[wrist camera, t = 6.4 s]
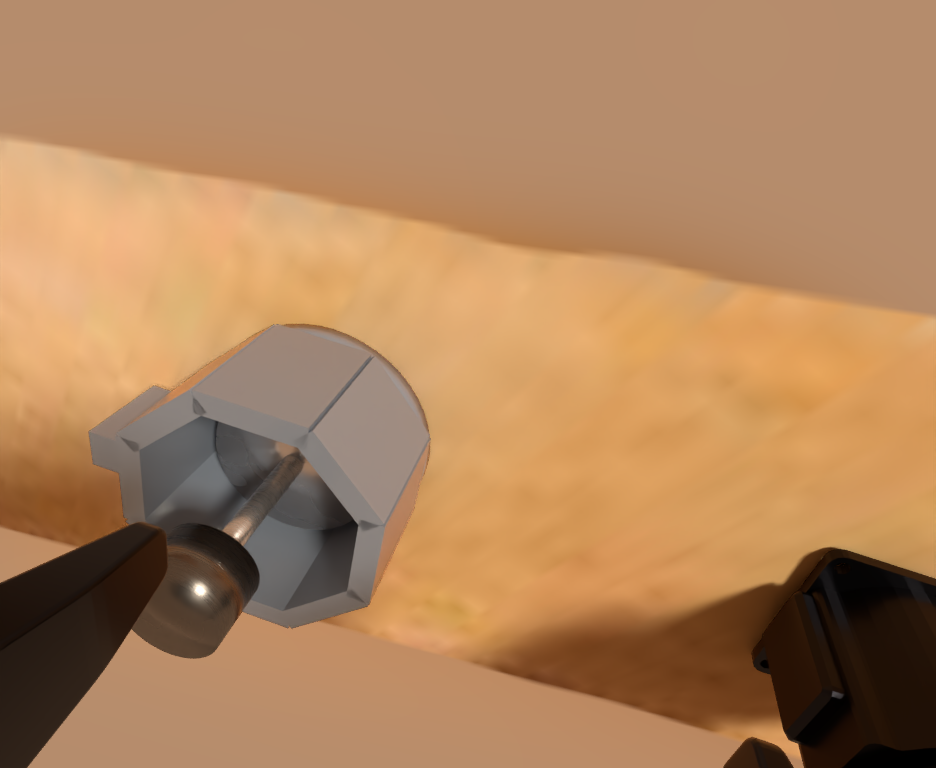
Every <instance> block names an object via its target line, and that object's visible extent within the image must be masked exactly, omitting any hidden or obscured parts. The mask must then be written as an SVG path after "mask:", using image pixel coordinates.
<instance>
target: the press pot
mask: <svg viewBox="0 0 936 768" xmlns="http://www.w3.org/2000/svg"><path fill="white" fill-rule="evenodd" d="M219 422H222V423H225V424H228V425H231V426H234V427H237V428H240V429H243V430H246V431H249V432H252V433H255V434H258V435H261V436H264V437H267V438H270V439H273V440H276V441H279V442H282V443H285V444H288V445H291V446H294V447H297V448H298V449H299V450H300V451H301V453H302V454H303V455H304V457H305V458H306V459H307V460H308V462H309V463H310V464H311V465H312V467H313V468H314V469H315V470H316V472H317V473H318V474H319V476H320V477H321V478H322V479H323V481H324V482H325V483H326V484H327V486H328V487H329V488H330V490H331V491H332V492H333V493H334V495H335V496H336V497H337V498H338V500H339V501H340V502H341V504H342V505H343V506H344V507H345V509H346V510H347V511H348V512H349V514H350V515H351V516H352V517H353V520H351V521H350V522H348V523H346V524H344V525H342V526H339V527H336V528H331V529H325V530H312V529H303V528H298V527H294V526H291V525H287V524H285V523H282V522H280V521H277V520H275V519H273V518H271V517H270V516H268V515H267V516H266V518H265V519H264V520H263V522H262V523H261V524H260V525H259V527H258V528H257V529H256V531H255V532H254V533H253V534H252V536H251V537H250V538H249V540H248V541H247V542H246V543H245V545H244V546H243V547H244V548H245V549H246V550H247V551H248V552H249V553H250V555H251V556H252V558H253V559H254V561H255V563H256V565H257V567H258V570H259V574H260V583H259V587H258V589H257V591H256V592H255V594H254V595H253V597H252V598H251V600H250V601H249V603H248V604H247V606H246V607H245V608H244V610H243V611H242V612H245V613H247V614H250V615H253V616H256V617H258V618H261V619H264V620H267V621H270V622H272V623H275V624H278V625H281V626H283V627H286V628H289V626H290V627H291V628H296V627H299V626H302V625H306V624H309V623H313V622H316V621H319V620H323V619H326V618H330V617H333V616H337V615H340V614H343V613H347V612H350V611H354V610H357V609H361V608H364V607H367V606H368V604H370V602H371V600H372V598H373V596H374V594H375V592H376V589H377V587H378V585H379V583H380V581H381V579H382V577H383V574H384V572H385V570H386V568H387V566H388V564H389V562H390V560H391V557H392V555H393V553H394V551H395V549H396V547H397V545H398V542H399V540H400V538H401V536H402V534H403V532H404V530H405V527H406V525H407V523H408V521H409V519H410V517H411V515H412V513H413V510H414V508H415V504H416V499H417V495H418V491H419V486H420V482H421V480H422V478H423V476H424V474H425V471H426V468H427V465H428V461H429V454H430V439H431V438H430V434H429V429H428V424H427V420H426V417H425V414H424V411H423V409H422V407H421V404H420V402H419V400H418V398H417V396H416V395H415V393H414V391H413V390H412V388H411V386H410V385H409V384H408V382H407V381H406V380H405V378H404V377H403V376H402V375H401V373H400V372H399V371H398V370H397V369H396V368H395V367H394V366H393V365H392V364H391V363H390V362H389V361H388V360H387V359H385V358H384V357H383V356H382V355H380V354H379V353H378V352H377V351H375V350H374V349H372V348H371V347H369V346H368V345H366V344H365V343H363V342H361V341H359V340H357V339H355V338H353V337H351V336H349V335H347V334H344V333H342V332H339V331H336V330H334V329H330V328H326V327H322V326H317V325H309V324H286V325H279V324H276V325H274V324H273V325H272V326H270V327H268V328H267V329H265V330H262V331H260V332H258V333H256V334H254V335H252V336H251V337H250V338H248V339H247V340H245V341H244V342H243V343H241V344H240V345H239V346H237V347H235V348H234V349H232V350H230V351H229V352H227V353H226V354H224V355H222V356H221V357H219V358H217V359H216V360H214V361H212V362H211V363H209V364H208V365H206V366H205V367H204V368H202V369H201V370H200V371H198V372H197V373H196V374H194V375H193V376H192V377H190V378H189V379H188V380H186V381H185V382H184V383H182V384H181V385H180V386H178V387H177V388H176V389H174V390H173V391H169V390H166V389H163V388H160V387H157V386H153V387H151V388H150V389H148V390H147V391H145V392H144V393H143V394H141V395H140V396H138V397H137V398H135V399H134V400H133V401H131V402H130V403H128V404H127V405H126V406H124V407H123V408H121V409H120V410H118V411H117V412H116V413H114V414H113V415H111V416H110V417H109V418H107V419H106V420H104V421H103V422H101V423H100V424H99V425H97V426H96V427H94V428H93V429H92V430H90V431H89V438H90V445H91V453H92V460H93V464H94V465H97V466H100V467H103V468H106V469H109V470H112V471H114V472H117V473H119V478H120V487H121V497H122V506H123V516H124V518H126V519H127V520H126V522H127V523H128V524H129V525H130V524H133V523H136V522H146V523H149V524H152V525H155V526H157V527H160V528H162V529H164V530H165V532H166V535H167V534H168V533H169V532H170V531H171V530H172V529H173V528H174V527H176V526H178V525H181V524H186V523H199V524H204V525H208V526H211V527H214V528H217V529H219V530H221V531H222V530H223V529H224V527H225V526H226V525H227V524H228V523H229V521H230V520H231V519H232V518H233V517H234V516H235V514H236V513H237V512H238V511H239V510H240V508H241V507H242V506H243V505H244V504H245V503H246V501H247V500H246V499H245V498H244V497H243V496H242V495H241V494H240V493H239V492H238V491H237V490H236V488H235V487H234V486H233V484H232V483H231V482H230V480H229V478H228V477H227V475H226V474H225V472H224V470H223V467H222V465H221V463H220V460H219V457H218V453H217V448H216V430H217V426H218V423H219Z"/></svg>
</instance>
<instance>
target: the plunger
mask: <svg viewBox="0 0 936 768" xmlns="http://www.w3.org/2000/svg"><path fill="white" fill-rule="evenodd" d="M216 448H217V453H218V457H219V460H220V463H221V465H222V467H223V470H224V472H225V474H226V475H227V477H228V478H229V480H230V482H231V483H232V484H233V486H234V487H235V488H236V490H237V491H238V492H239V493H240V494H241V495H242V496H243V497H244V498H245V499H246V500H247V501H246V503H245V504H244V505H243V506H242V507H241V508H240V510H239V511H238V512H237V513H236V514H235V516H234V517H233V518H232V519H231V520H230V521H229V523H228V524H227V525H226V526H225V527H224V529H223V530H222V531H221V530H219V529H217V528H214V527H211V526H208V525H204V524H199V523H186V524H181V525H178V526H176V527H174V528H173V529H172V530H171V531H170V532H169V533H168V534H167V550H168V569H167V572H166V575H165V577H164V579H163V581H162V582H161V584H160V585H159V587H158V588H157V590H156V591H155V593H154V595H153V596H152V598H151V599H150V601H149V602H148V604H147V605H146V607H145V608H144V610H143V612H142V613H141V615H140V616H139V618H138V619H137V621H136V622H135V624H134V625H133V627H132V628H131V629H132V630H133V631H134V632H135V633H136V634H137V635H139V636H140V637H141V638H142V639H144V640H145V641H146V642H148V643H149V644H151V645H153V646H154V647H157V648H158V649H160V650H162V651H164V652H167V653H169V654H172V655H175V656H179V657H184V658H202V657H206V656H209V655H210V654H212V653H213V652H214V651H215V650H216V649H217V648H218V646H219V645H220V643H221V642H222V640H223V639H224V637H225V636H226V634H227V633H228V631H229V630H230V629H231V627H232V626H233V624H234V623H235V621H236V620H237V619H238V617H239V616H240V614H241V613H242V611H243V610H244V608H245V607H246V606H247V604H248V603H249V601H250V600H251V598H252V597H253V595H254V594H255V592H256V591H257V589H258V587H259V583H260V574H259V570H258V567H257V565H256V563H255V561H254V559H253V558H252V556H251V555H250V553H249V552H248V551H247V550H246V549H245V548H244V547H243V546H244V545H245V543H246V542H247V541H248V540H249V538H250V537H251V536H252V534H253V533H254V532H255V531H256V529H257V528H258V527H259V525H260V524H261V523H262V522H263V520H264V519H265V518H266V516H267V515H268V516H270V517H271V518H273V519H275V520H277V521H280V522H282V523H285V524H287V525H291V526H294V527H298V528H303V529H312V530H325V529H331V528H336V527H339V526H342V525H344V524H346V523H348V522H350V521H351V520H353V517H352V516H351V515H350V514H349V512H348V511H347V510H346V509H345V507H344V506H343V505H342V504H341V502H340V501H339V500H338V498H337V497H336V496H335V495H334V493H333V492H332V491H331V490H330V488H329V487H328V486H327V484H326V483H325V482H324V481H323V479H322V478H321V477H320V476H319V474H318V473H317V472H316V470H315V469H314V468H313V467H312V465H311V464H310V463H309V462H308V460H307V459H306V458H305V457H304V455H303V454H302V453H301V451H300V450H299V449H298V448H297V447H294V446H291V445H288V444H285V443H282V442H279V441H276V440H273V439H270V438H267V437H264V436H261V435H258V434H255V433H252V432H249V431H246V430H243V429H240V428H237V427H234V426H231V425H228V424H225V423H222V422H219V423H218V426H217V430H216Z"/></svg>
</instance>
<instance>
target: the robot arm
mask: <svg viewBox="0 0 936 768" xmlns="http://www.w3.org/2000/svg"><path fill="white" fill-rule="evenodd" d="M839 563H845V564H844V565H840V566H837V564H839ZM167 569H168V550H167V535H166V532H165V530H164V529H162V528H160V527H157V526H155V525H152V524H149V523H146V522H136V523H133V524H130V525H128V526H126V527H124V528H121V529H119V530H117V531H115V532H112V533H110V534H108V535H106V536H104V537H101V538H99V539H97V540H95V541H92V542H90V543H88V544H86V545H84V546H81V547H79V548H77V549H75V550H73V551H70V552H68V553H66V554H64V555H62V556H59V557H57V558H55V559H52V560H50V561H48V562H46V563H43V564H41V565H39V566H37V567H35V568H32V569H30V570H28V571H26V572H23V573H21V574H19V575H17V576H15V577H12V578H10V579H8V580H6V581H4V582H1V583H0V768H27V767H28V766H29V765H30V763H31V762H32V761H33V759H34V758H35V757H36V756H37V754H38V753H39V752H40V751H41V749H42V748H43V747H44V746H45V744H46V743H47V742H48V741H49V739H50V738H51V737H52V736H53V734H54V733H55V732H56V731H57V729H58V728H59V727H60V726H61V724H62V723H63V721H65V719H66V718H67V717H68V715H69V714H70V713H71V712H72V710H73V709H74V708H75V707H76V705H77V704H78V703H79V702H80V700H81V699H82V698H83V697H84V695H85V694H86V693H87V692H88V690H89V689H90V688H91V687H92V685H93V684H94V683H95V681H96V680H97V679H98V677H99V676H100V675H101V673H102V672H103V671H104V669H105V668H106V666H107V665H108V663H109V662H110V661H111V659H112V658H113V656H114V655H115V653H116V652H117V650H118V648H119V647H120V645H121V644H122V642H123V641H124V639H125V638H126V636H127V635H128V633H129V632H130V630H131V628H132V627H133V625H134V624H135V622H136V621H137V619H138V618H139V616H140V615H141V613H142V612H143V610H144V608H145V607H146V605H147V604H148V602H149V601H150V599H151V598H152V596H153V595H154V593H155V591H156V590H157V588H158V587H159V585H160V584H161V582H162V581H163V579H164V577H165V575H166V572H167ZM751 655H752V659H753V664H754V667H755V668H756V669H757V670H759V671H761V672H764V673H767V674H770V675H771V677H772V682H773V686H774V691H775V695H776V699H777V704H778V708H779V712H780V717H781V721H782V726H783V730H784V732H785V734H786V736H787V738H788V740H790V741H792V742H795V743H798V745H799V749H800V753H801V757H802V761H803V765H804V768H936V579H935V578H931V577H928V576H925V575H922V574H919V573H916V572H913V571H910V570H907V569H903V568H900V567H897V566H894V565H891V564H888V563H885V562H882V561H879V560H876V559H872V558H869V557H866V556H863V555H860V554H857V553H854V552H851V551H848V550H842V549H838V550H833V551H830V552H828V553H827V554H826V555H825V556H824V557H823V558H822V560H821V561H820V562H819V564H818V565H817V566H816V568H815V569H814V570H813V572H812V573H811V574H810V576H809V577H808V578H807V580H806V581H805V582H804V584H803V585H802V586H801V588H800V589H799V590H798V591H797V592H796V593H794V594H793V595H792V596H791V597H790V598H789V600H788V601H787V602H786V604H785V605H784V606H783V608H782V609H781V610H780V612H779V613H778V614H777V616H776V617H775V618H774V620H773V621H772V622H771V624H770V625H769V626H768V628H767V629H766V630H765V632H764V633H763V635H762V639H761V641H760V642H759V643H758V645H757V646H756V647H755V649H754V650H753V651H752V654H751ZM766 659H767V660H766ZM723 768H794V767H793V766H792V764H791V762H790V761H789V759H788V757H787V756H786V754H785V753H784V752H783V751H782V749H781V748H779V747H778V746H776V745H774V744H772V743H769V742H766V741H763V740H760V739H757V738H754V737H751V738H747V739H746V740H745V741H744V742H743V743H742V745H741V746H740V747H739V748H738V749H737V751H736V752H735V753H734V754H733V755H732V756H731V757H730V759H729V760H728V761H727V762H726V764H725V765H724V767H723Z"/></svg>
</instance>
